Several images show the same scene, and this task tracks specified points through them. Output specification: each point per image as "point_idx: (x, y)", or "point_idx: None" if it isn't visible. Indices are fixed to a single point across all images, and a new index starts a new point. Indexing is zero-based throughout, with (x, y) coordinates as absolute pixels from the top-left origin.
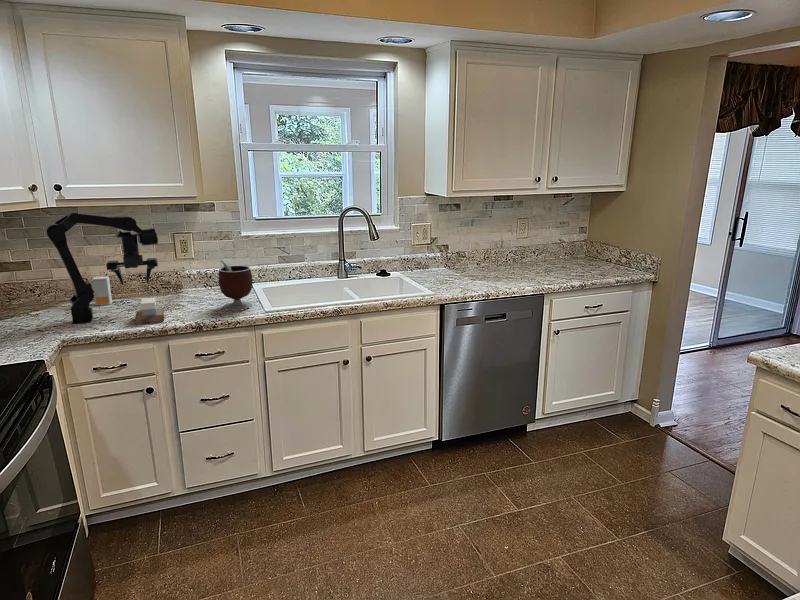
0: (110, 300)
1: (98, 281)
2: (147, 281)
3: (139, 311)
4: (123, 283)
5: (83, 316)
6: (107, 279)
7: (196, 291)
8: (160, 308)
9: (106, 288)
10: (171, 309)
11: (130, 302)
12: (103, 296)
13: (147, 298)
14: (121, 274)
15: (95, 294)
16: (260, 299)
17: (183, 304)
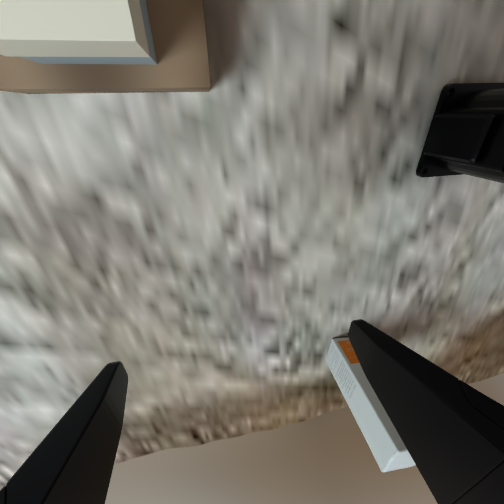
0: (335, 354)
1: None
2: (102, 381)
3: (183, 42)
4: (356, 343)
5: (500, 91)
6: (388, 447)
7: None
8: (15, 82)
9: (372, 396)
10: (40, 224)
11: (269, 351)
12: None
13: (51, 14)
14: (427, 464)
15: None
16: None
17: (10, 302)
